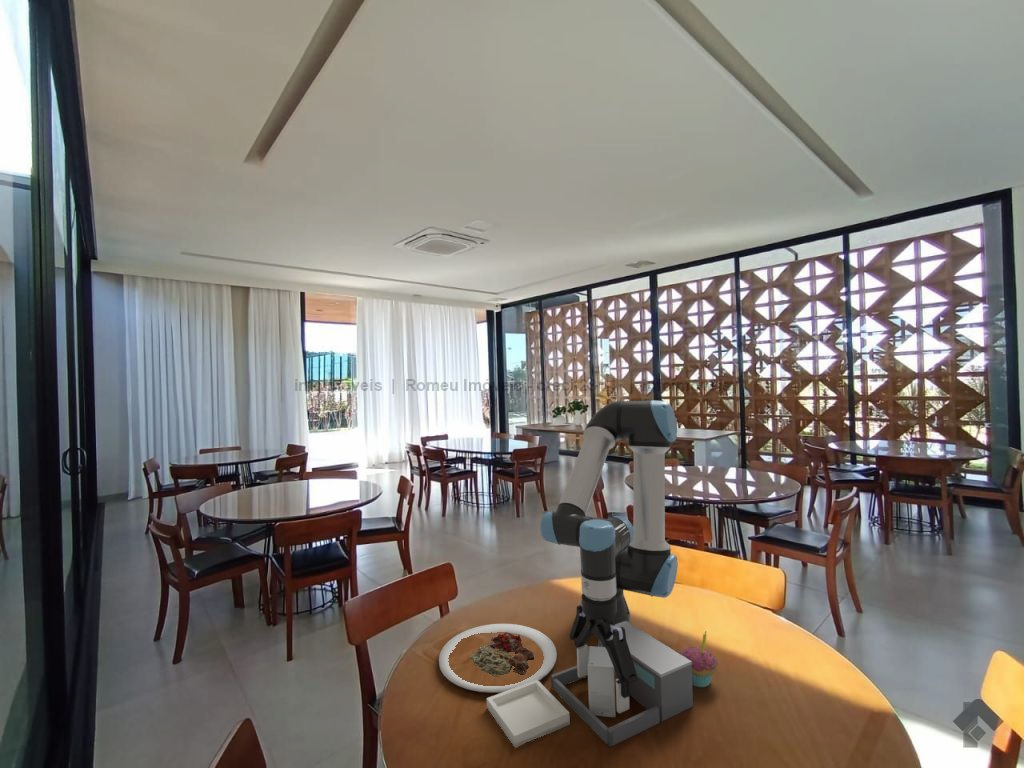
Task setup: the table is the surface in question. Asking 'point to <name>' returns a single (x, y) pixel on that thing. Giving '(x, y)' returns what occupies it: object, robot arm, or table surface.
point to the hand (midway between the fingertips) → (602, 691)
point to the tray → (527, 712)
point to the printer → (639, 686)
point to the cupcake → (701, 664)
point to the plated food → (501, 655)
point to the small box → (601, 682)
